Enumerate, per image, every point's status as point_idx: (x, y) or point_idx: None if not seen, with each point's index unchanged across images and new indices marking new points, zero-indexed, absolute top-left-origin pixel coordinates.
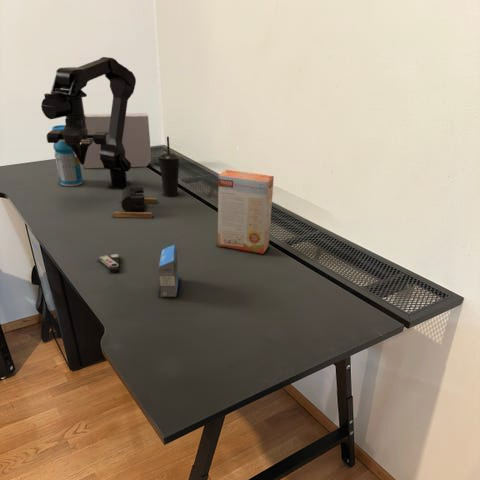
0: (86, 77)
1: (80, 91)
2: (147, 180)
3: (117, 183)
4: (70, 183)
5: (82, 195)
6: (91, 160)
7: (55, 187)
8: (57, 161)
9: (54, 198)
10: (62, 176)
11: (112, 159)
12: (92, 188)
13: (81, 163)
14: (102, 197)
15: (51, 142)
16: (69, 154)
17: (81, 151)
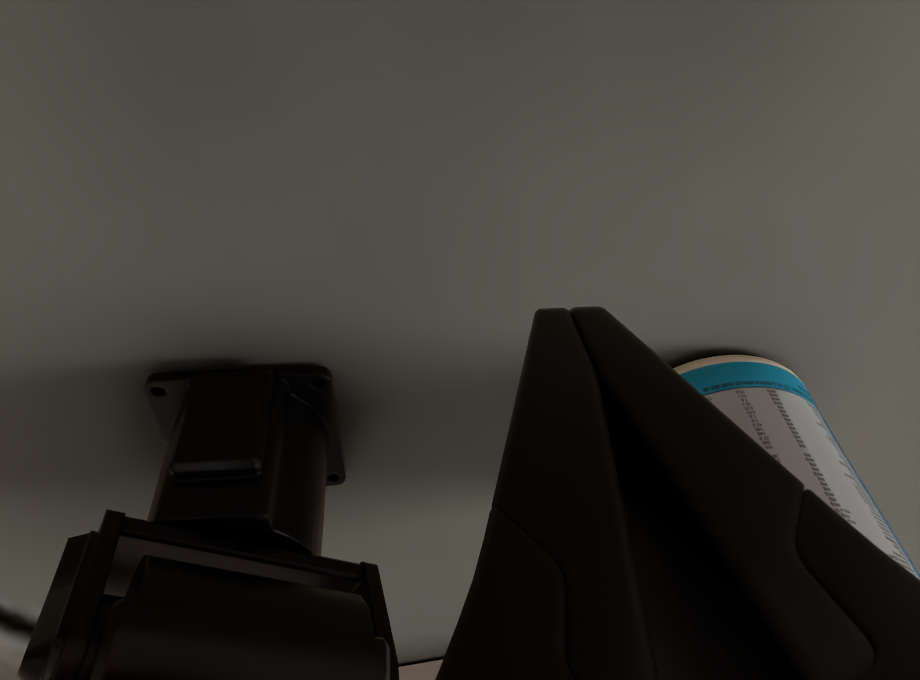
0: None
1: None
2: (62, 539)
3: (220, 398)
4: (718, 373)
5: (568, 143)
6: None
7: (853, 323)
8: (914, 573)
9: (911, 5)
10: (812, 427)
11: (157, 650)
12: (495, 339)
13: (594, 318)
14: (304, 99)
15: None
16: None
17: (622, 638)
